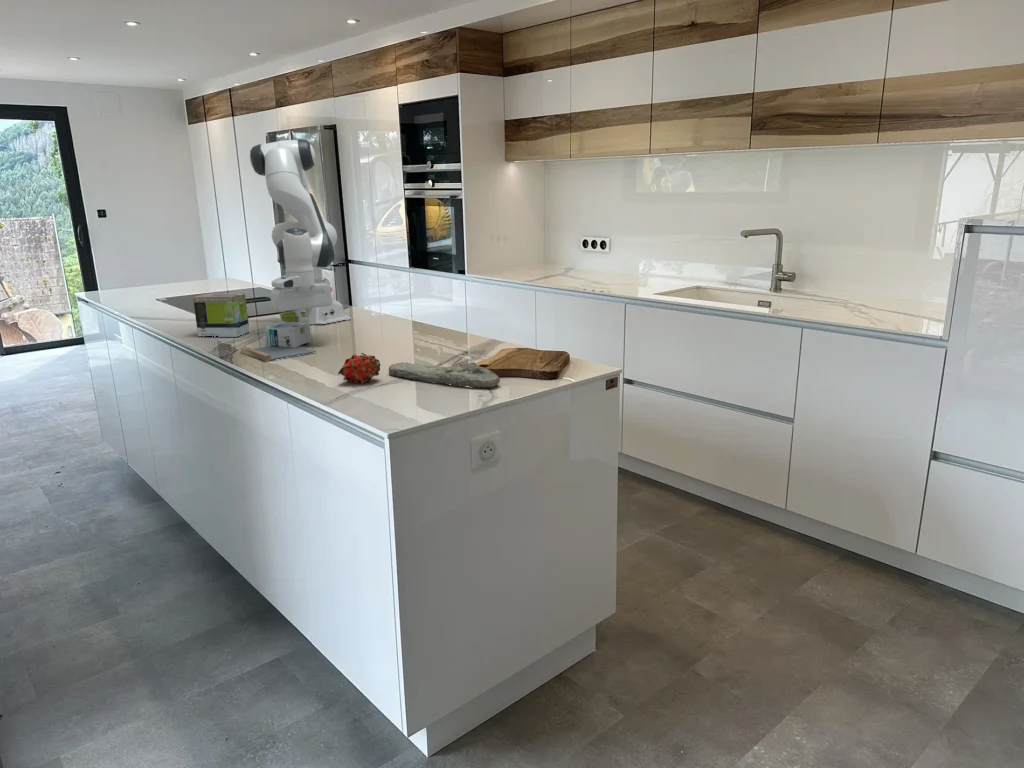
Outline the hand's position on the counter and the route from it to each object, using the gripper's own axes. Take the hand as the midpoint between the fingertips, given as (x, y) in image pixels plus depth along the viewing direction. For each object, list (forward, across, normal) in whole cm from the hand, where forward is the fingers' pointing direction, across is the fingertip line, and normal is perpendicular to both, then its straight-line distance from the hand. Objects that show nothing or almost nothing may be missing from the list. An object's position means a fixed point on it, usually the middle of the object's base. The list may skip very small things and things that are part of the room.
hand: (304, 322), depth 228 cm
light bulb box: (+5, 0, -3) cm, 6 cm away
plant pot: (+9, -6, -19) cm, 22 cm away
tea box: (+9, +10, -42) cm, 44 cm away
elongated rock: (+9, -6, +64) cm, 65 cm away
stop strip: (+9, +18, 0) cm, 19 cm away
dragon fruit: (+9, +11, +50) cm, 52 cm away
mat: (+9, +9, 0) cm, 12 cm away
